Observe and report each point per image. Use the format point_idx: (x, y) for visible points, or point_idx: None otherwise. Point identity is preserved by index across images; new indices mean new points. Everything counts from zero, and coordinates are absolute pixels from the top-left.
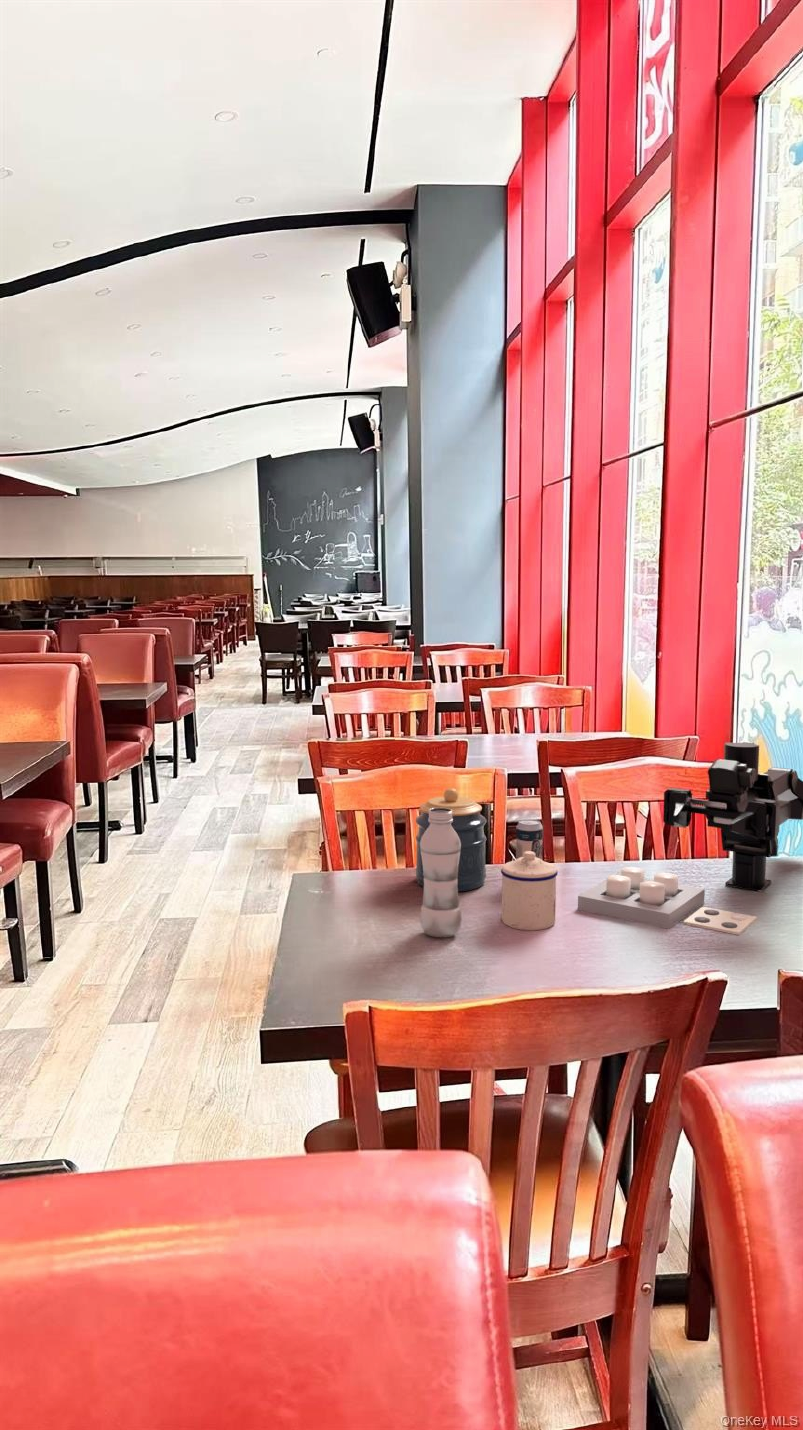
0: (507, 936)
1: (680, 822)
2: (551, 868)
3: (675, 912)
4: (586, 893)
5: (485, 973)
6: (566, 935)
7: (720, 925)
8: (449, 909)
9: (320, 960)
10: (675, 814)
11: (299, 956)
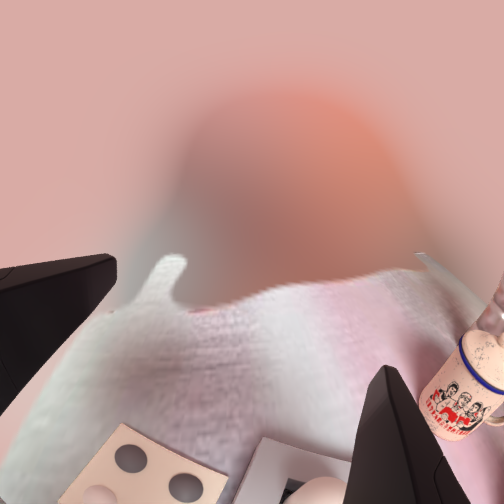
0: (435, 367)
1: (354, 470)
2: (474, 352)
3: (250, 466)
4: None
5: (397, 299)
6: None
7: (149, 459)
8: (476, 321)
9: (478, 306)
10: (394, 375)
11: None
